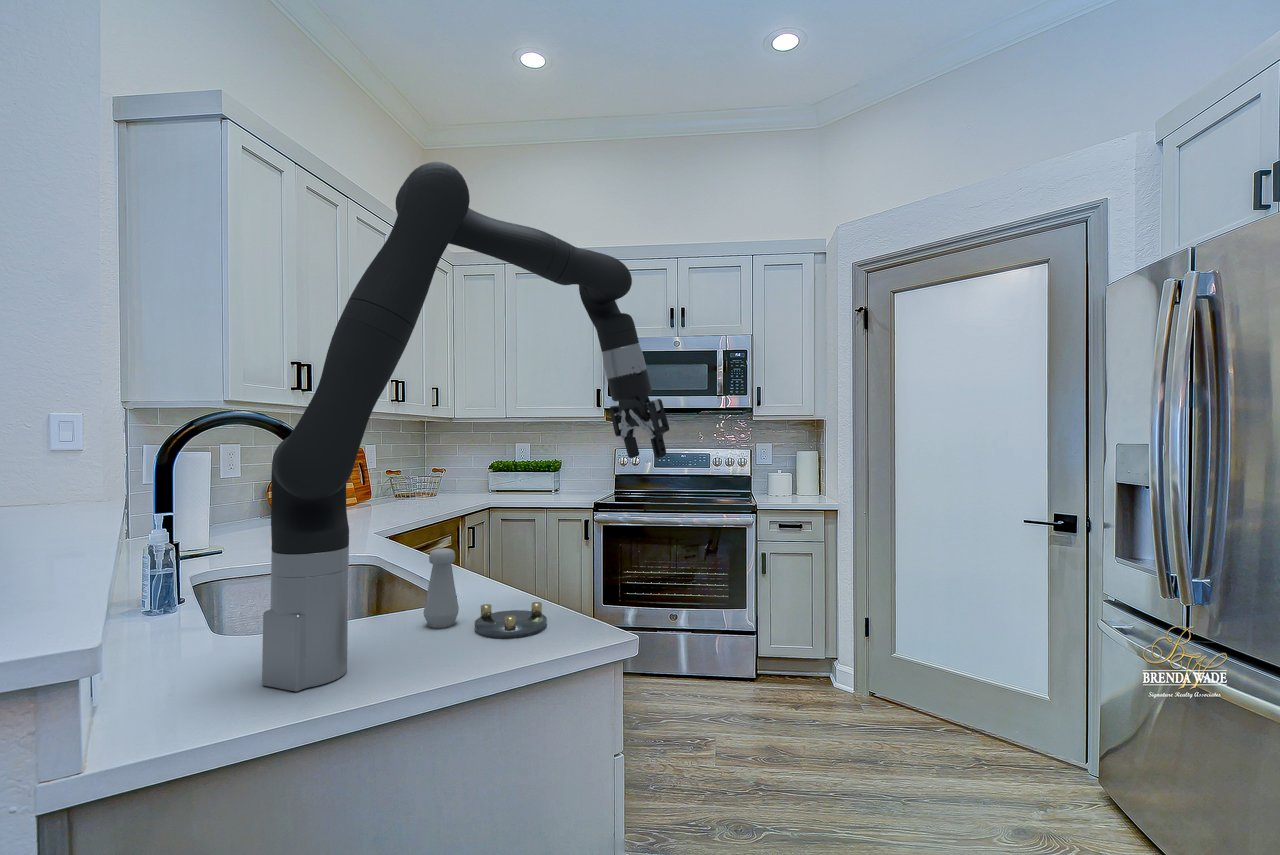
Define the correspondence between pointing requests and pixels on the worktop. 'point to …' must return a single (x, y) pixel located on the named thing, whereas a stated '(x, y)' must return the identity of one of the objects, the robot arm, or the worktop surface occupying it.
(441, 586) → the salt shaker
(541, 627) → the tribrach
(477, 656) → the worktop surface
